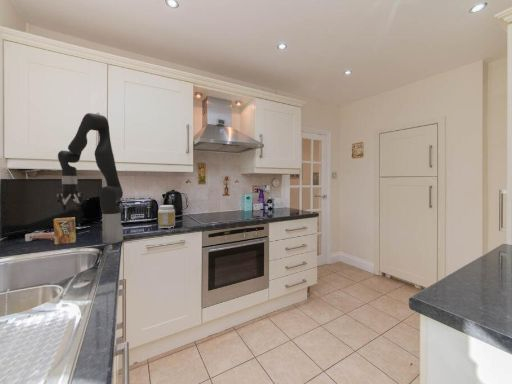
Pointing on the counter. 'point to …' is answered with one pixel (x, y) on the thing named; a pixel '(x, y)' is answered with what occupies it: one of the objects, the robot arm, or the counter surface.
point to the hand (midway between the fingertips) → (70, 209)
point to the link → (44, 235)
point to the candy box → (64, 230)
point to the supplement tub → (166, 216)
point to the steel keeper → (29, 236)
